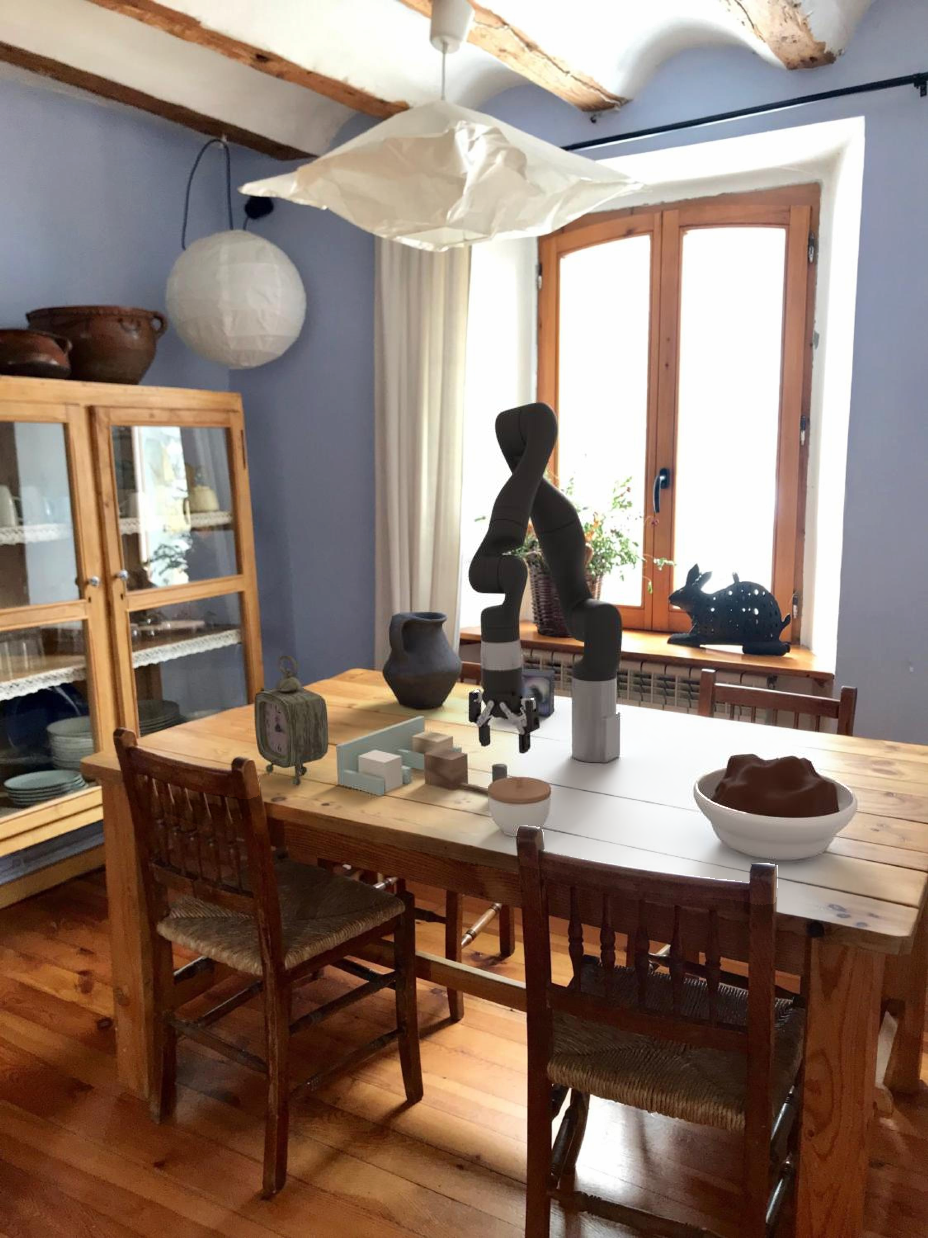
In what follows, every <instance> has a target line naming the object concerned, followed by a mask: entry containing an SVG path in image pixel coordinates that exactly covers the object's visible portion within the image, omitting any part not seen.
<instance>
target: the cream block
mask: <svg viewBox="0 0 928 1238" xmlns="http://www.w3.org/2000/svg"><path fill="white" fill-rule="evenodd" d="M358 763H359V773H362V774H366V775H370V776H374V777H377V778H381V779H384V793H388V792H390V791H392V790H393V791H394V790H395V789H396V788H399V787H402V786H403V783H402V766H403V765H402V756H399V755H394V754H390V753H386V752H382V751H378V750H374V751H371V752H368V753H365V754H363V755H360V756H358Z"/></svg>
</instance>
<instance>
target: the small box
mask: <svg viewBox="0 0 928 1238" xmlns="http://www.w3.org/2000/svg"><path fill="white" fill-rule="evenodd" d="M522 677H523V687H522V696H523V698H528V699H531V698H533V697H536V698H537V699H538V709H539V717H540V718H541V717H543V718H550V717H551V716H552V715H553V713H554V712H555V670H554V669H553V670H552V669H539V668H538V669H537V668H522ZM521 708H522V710H523V711H524V713H525V714H526V710H524V709H523V708H524V706H523V705H522V707H521ZM515 716H518V715H517V714H516V715H515Z"/></svg>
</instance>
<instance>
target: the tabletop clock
mask: <svg viewBox="0 0 928 1238" xmlns="http://www.w3.org/2000/svg"><path fill="white" fill-rule="evenodd" d="M283 659H286V660H287V659H288V660H289V661H291V662H292V664H293V667H294V672H293V673H291V672H292V671H291V668H286V669H285V670H284V668H282V667H283V666H282V664H281V662H282V660H283ZM277 661H278V663H277V665H278V668H279V671H280V672H281V673H282V674H283V675H284V676H285V677H283V678H280V679H279V680H278V682H277V683H276V685H275V688H274V689H270V690H269V689H268V690H264V691H259V692H257V693H255V695H254V705H253V706H254V707H253V709H254V727H255V737H256V738H255V739H256V745H257V749H258V753H259V755H260V756H261V757H262V758H263V759H264V760H265V761H268V763H270V764H267V765H266V766H265V771H266V772H267V773H269V772H270V773H272V772H274V771H275V770H274V769H275V768H274V766H277V767H280V768H283V769H287V768H292V767H294V772H295V773H294V775H295V776H294V777H293V779H292V781H291V782H292V785H294V786H295V785H297V786H299V785H301V782H302V781H301V778H300V777H299V775H300V774H301V773H305V774H306V773H307V772H308V767H307V766H305V765H304V764H308V763H311V762H312V763H313V762H315V761H319V760H323V758H324V757H325V756H326V755H327V753H328V750H329V721H328V708H327V703H326V699H325V698H324V697H323V696H322V695H321V694H319V693H315V692H314V691H311V690H309V689H307V688H304V687H302V684H301V682H300V680H298V678H296V677H295V676H296V674H297V672H298V666H297V665H298V664H297V662H296V660H295V659H294V658H293V657H292V656H291V655H288V654H282V655H280V656H279V658H278V660H277Z"/></svg>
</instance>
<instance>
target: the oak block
mask: <svg viewBox="0 0 928 1238" xmlns="http://www.w3.org/2000/svg"><path fill="white" fill-rule="evenodd" d="M453 745H454V736H453V735H449V734H445V733H440V732H439V733H438V732H434V731H429V730H425V732H422V733H419V734H417V735H414V736H412V749H413V752H417V753H421V754H425V753H427V752H430V751H432V750H435V749H437V748H444V749H448V750H453Z"/></svg>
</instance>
